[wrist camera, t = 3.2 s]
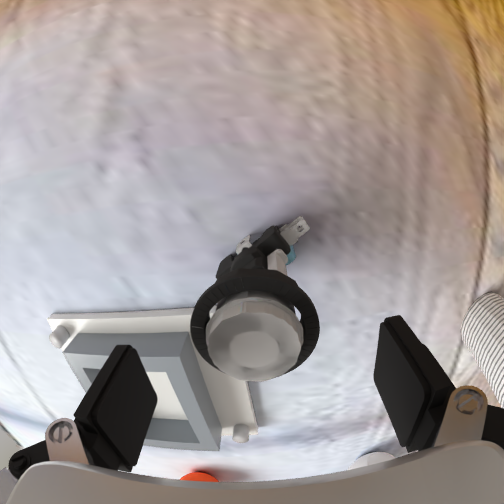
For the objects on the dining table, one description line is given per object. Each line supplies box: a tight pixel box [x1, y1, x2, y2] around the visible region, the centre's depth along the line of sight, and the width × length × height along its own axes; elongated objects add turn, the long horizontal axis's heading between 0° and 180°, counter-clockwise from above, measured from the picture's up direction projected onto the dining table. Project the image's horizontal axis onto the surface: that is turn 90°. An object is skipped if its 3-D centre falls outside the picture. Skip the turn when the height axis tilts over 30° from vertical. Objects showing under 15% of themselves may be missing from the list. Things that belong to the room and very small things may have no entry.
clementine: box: [180, 472, 219, 482], centre depth 29 cm, size 8×7×7 cm
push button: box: [190, 216, 320, 382], centre depth 15 cm, size 7×5×10 cm
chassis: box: [47, 306, 258, 451], centre depth 23 cm, size 18×16×4 cm
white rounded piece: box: [348, 452, 395, 470], centre depth 27 cm, size 8×8×8 cm
